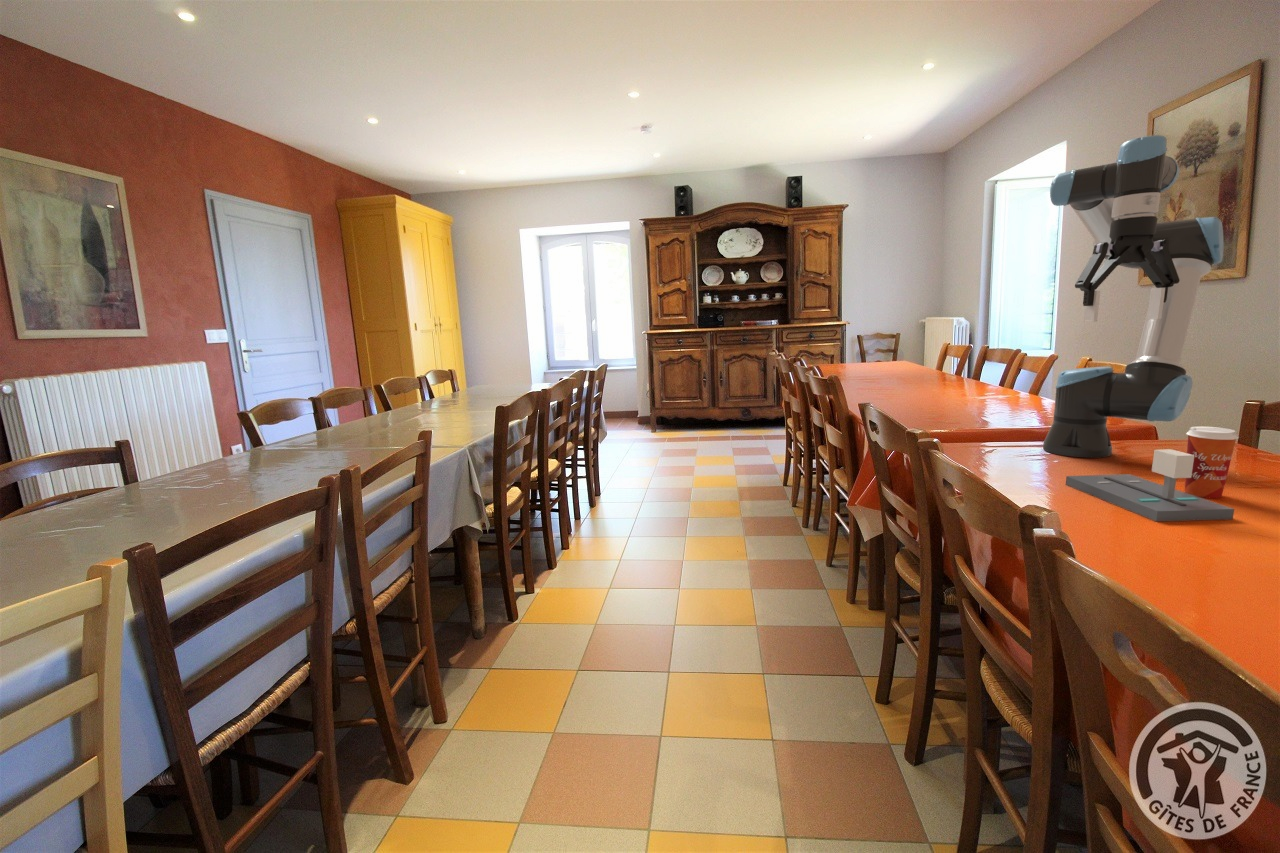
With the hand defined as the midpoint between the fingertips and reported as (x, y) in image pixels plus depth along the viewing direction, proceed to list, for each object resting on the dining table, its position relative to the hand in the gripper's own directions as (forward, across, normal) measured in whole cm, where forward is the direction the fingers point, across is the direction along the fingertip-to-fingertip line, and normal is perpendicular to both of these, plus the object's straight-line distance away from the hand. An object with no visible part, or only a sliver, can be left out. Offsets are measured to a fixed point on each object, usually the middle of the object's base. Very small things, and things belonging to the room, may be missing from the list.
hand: (1122, 320), depth 125 cm
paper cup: (+37, +12, -11) cm, 40 cm away
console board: (+36, -2, -13) cm, 39 cm away
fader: (+34, -2, -19) cm, 39 cm away
